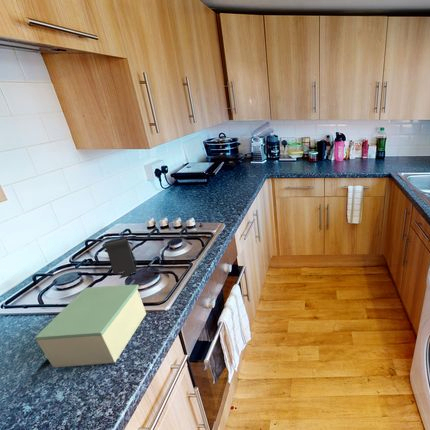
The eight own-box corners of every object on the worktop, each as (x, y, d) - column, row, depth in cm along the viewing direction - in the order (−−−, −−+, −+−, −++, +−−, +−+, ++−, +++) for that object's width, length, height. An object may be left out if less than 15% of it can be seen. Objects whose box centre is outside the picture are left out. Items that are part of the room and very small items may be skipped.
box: (96, 317, 80) (84, 292, 76) (146, 313, 81) (137, 289, 77) (53, 367, 66) (36, 340, 62) (115, 362, 67) (102, 335, 63)
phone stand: (136, 274, 97) (125, 243, 92) (115, 279, 95) (103, 249, 90) (136, 261, 104) (126, 232, 99) (116, 266, 102) (105, 236, 97)
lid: (86, 290, 77) (85, 287, 76) (139, 286, 78) (138, 284, 77) (36, 340, 62) (34, 337, 62) (102, 335, 63) (100, 332, 63)
